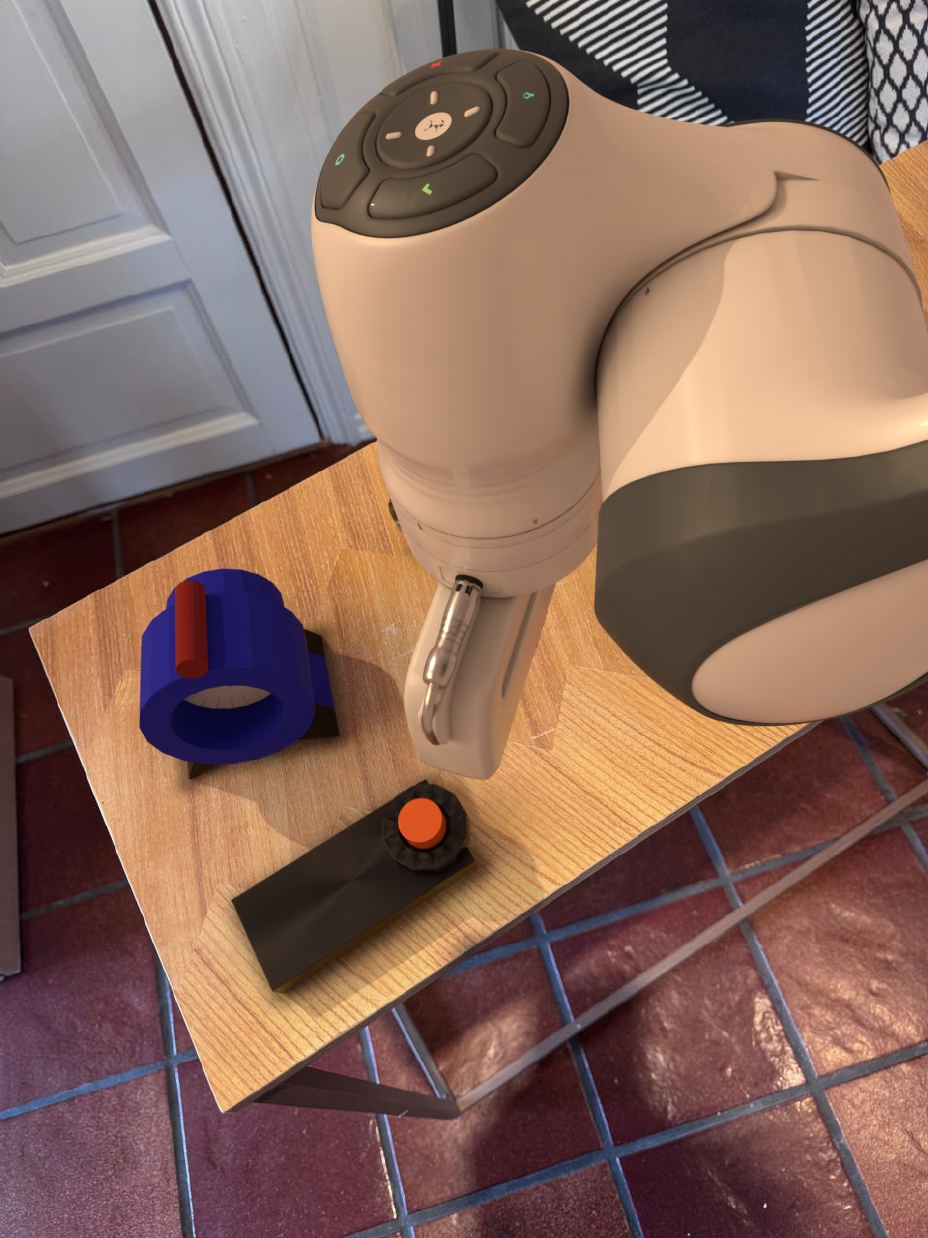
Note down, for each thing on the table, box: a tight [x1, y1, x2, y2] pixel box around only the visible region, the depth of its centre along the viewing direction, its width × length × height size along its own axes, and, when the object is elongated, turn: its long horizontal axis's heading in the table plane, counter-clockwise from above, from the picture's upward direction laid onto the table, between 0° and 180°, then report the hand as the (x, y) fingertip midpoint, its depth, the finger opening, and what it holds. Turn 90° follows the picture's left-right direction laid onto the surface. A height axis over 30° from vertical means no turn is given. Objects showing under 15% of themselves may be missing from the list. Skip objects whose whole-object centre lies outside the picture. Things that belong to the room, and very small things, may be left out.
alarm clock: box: [138, 568, 340, 780], centre depth 65 cm, size 12×12×15 cm
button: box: [398, 798, 446, 849], centre depth 60 cm, size 3×3×2 cm
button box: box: [230, 778, 480, 995], centre depth 62 cm, size 17×7×4 cm, turn 121°
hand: (526, 633), depth 49 cm, fingers closed
